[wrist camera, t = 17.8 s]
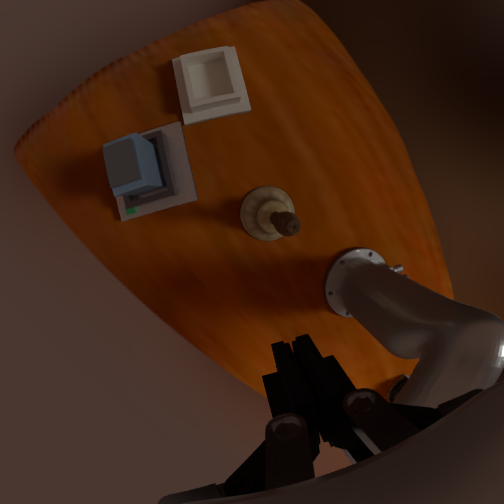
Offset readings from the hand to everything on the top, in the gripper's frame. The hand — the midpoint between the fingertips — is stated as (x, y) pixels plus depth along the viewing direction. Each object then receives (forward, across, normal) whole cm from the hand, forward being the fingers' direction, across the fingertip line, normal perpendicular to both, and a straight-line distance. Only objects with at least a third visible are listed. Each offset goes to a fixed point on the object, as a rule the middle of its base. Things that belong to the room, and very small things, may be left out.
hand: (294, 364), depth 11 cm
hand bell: (+31, -5, -3) cm, 32 cm away
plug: (+30, +10, -14) cm, 34 cm away
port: (+31, +10, -14) cm, 35 cm away
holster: (+31, -1, -25) cm, 40 cm away
